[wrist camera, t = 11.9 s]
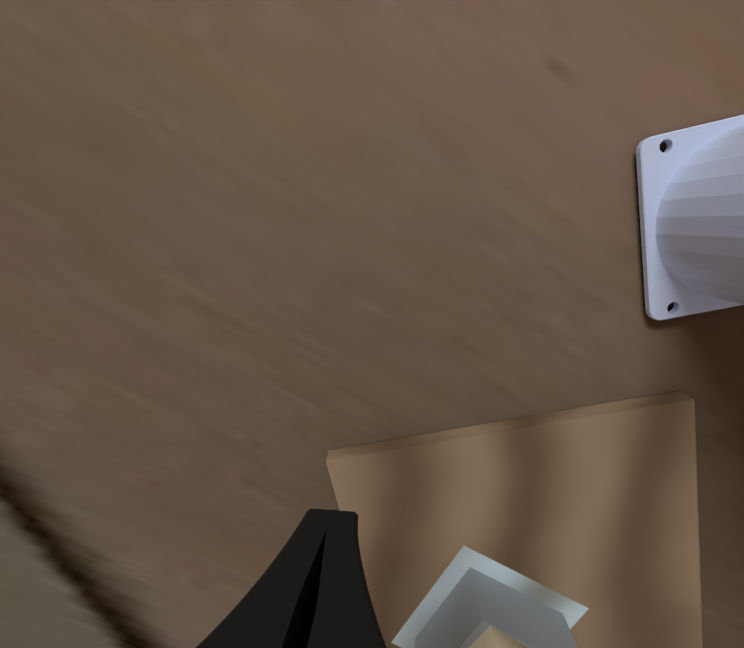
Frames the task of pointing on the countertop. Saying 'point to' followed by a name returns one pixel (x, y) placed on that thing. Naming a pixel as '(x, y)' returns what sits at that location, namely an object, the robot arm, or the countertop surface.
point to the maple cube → (495, 640)
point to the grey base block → (493, 617)
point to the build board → (538, 519)
